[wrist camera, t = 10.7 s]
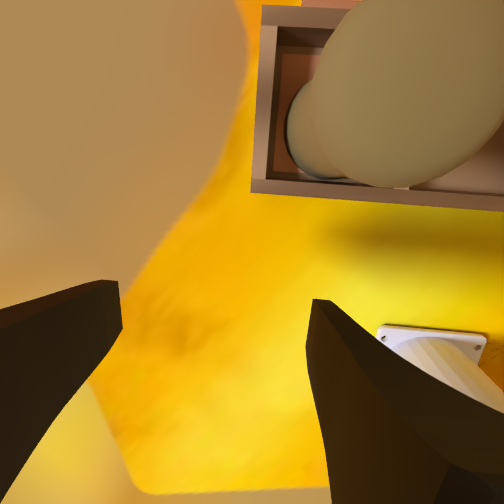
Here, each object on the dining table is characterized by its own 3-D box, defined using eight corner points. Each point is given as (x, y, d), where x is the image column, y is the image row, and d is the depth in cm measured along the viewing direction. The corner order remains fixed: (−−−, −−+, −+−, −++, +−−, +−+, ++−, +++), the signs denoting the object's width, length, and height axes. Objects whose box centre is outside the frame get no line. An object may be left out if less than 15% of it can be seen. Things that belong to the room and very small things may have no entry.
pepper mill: (364, 48, 15) (566, -192, 5) (398, 151, 17) (606, 139, 6) (266, 105, 16) (257, 12, 6) (306, 196, 18) (355, 248, 8)
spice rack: (636, 216, 18) (706, 227, 15) (253, 187, 19) (250, 192, 16) (728, 42, 15) (838, 14, 12) (264, 19, 16) (263, -11, 13)
